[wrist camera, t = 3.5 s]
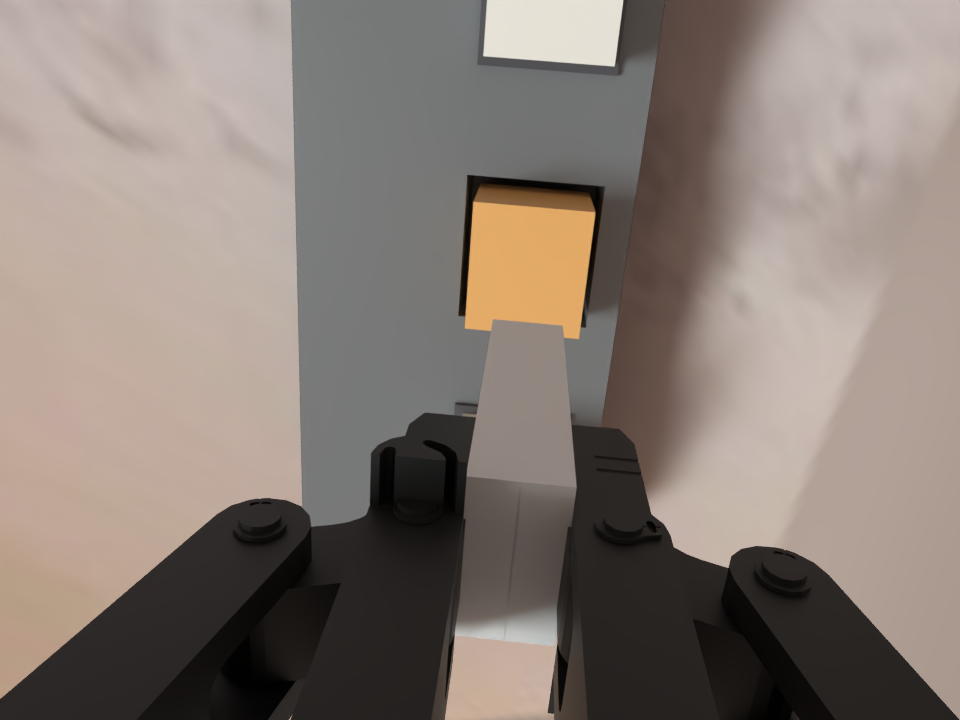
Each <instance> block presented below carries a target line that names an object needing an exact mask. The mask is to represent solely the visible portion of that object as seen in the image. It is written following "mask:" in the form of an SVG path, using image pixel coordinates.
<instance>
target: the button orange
mask: <svg viewBox="0 0 960 720" xmlns="http://www.w3.org/2000/svg"><path fill="white" fill-rule="evenodd" d="M595 213H596V212H595V209H594V206H593V203H592V200H591V197H590V194H589V192H580V191H568V190H556V189H545V188H533V187H521V186H509V185H498V184H486V183H481V184H480V187H479V189H478V192H477V194H476V197H475V199H474V201H473V214H472V229H471V244H470V258H469V273H468V288H467V302H466V317H465V329H475V330H486V331H491V328H492V322H493V319H496V320H507V321H518V322H529V323H540V324H551V325H561V326H563V334H564V338H572V339H579V334H580V327H581V319H582V312H583V304H584V296H585V289H586V281H587V273H588V266H589V258H590V251H591V243H592V235H593V228H594V220H595Z"/></svg>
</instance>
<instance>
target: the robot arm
mask: <svg viewBox="0 0 960 720" xmlns="http://www.w3.org/2000/svg"><path fill="white" fill-rule="evenodd" d="M556 632H557V638H558V644H557V651H556V658H555V665H554V672H553V679H552V686H551V693H550V700H549V708H548V713H552V714H554V720H959V719H958V718H957V717H956V715H955V714H954V713H953V712H952V711H951V710H950V709H949V708H948V707H947V706H946V704H945V703H944V702H943V701H942V700H941V699H940V698H939V697H938V696H937V694H936V693H935V692H934V691H933V690H932V689H931V688H930V687H929V686H928V684H927V683H926V682H925V681H924V680H923V679H922V678H921V677H920V676H919V674H918V673H917V672H916V671H915V670H914V669H913V668H912V667H911V666H910V665H909V663H908V662H907V661H906V660H905V659H904V658H903V657H902V656H901V655H900V653H898V651H897V650H896V649H895V648H894V647H893V646H892V645H891V643H890V642H889V641H888V640H887V639H886V638H885V637H884V636H883V635H882V634H881V633H880V631H879V630H878V629H877V628H876V627H875V626H874V625H873V624H872V622H871V621H870V620H869V619H868V618H867V617H866V616H865V615H864V614H863V613H862V612H861V610H860V609H859V608H858V607H857V606H856V605H855V604H854V603H853V601H852V600H851V599H850V598H849V597H848V596H847V595H846V594H845V593H844V591H843V590H842V589H841V588H840V587H839V586H838V585H837V584H836V583H835V582H834V580H833V579H832V578H831V577H830V576H829V575H828V574H827V573H826V572H824V571H823V570H822V569H821V568H819V567H818V566H817V565H816V564H815V563H813V562H811V561H809V560H807V559H805V558H804V557H802V556H799V555H798V554H796V553H793V552H790V551H788V550H786V551H785V550H783V549H780V548H775V547H761V546H755V547H750V548H744V549H741V550H739V551H738V552H737V553H735V554H734V555H733V556H731V560H730V565H729V568H726V567H722V566H719V565H716V564H713V563H709V562H706V561H703V560H700V559H697V558H695V557H692V556H689V555H687V554H685V553H683V552H681V551H680V550H678V549H676V548H674V547H673V543H672V540H671V536H670V534H669V532H668V530H667V529H666V527H665V525H664V524H663V523H662V522H660V521H659V520H658V519H656V518H655V517H654V516H653V515H651V512H650V507H649V503H648V499H647V495H646V491H645V487H644V483H643V479H642V476H641V470H640V466H639V463H638V458H637V454H636V450H635V446H634V443H633V442H632V441H631V440H630V439H629V438H628V437H627V436H626V435H625V434H624V433H623V432H622V431H621V430H620V429H611V428H601V427H591V426H581V425H571V416H570V404H569V392H568V381H567V369H566V358H565V346H564V334H563V326H561V325H551V324H540V323H529V322H518V321H507V320H496V319H493V322H492V328H491V334H490V340H489V345H488V351H487V357H486V363H485V369H484V374H483V380H482V386H481V392H480V398H479V403H478V409H477V415H476V417H467V416H457V415H447V414H436V413H426V412H425V413H423V414H422V415H421V416H419V417H418V418H417V419H415V420H414V421H413V422H411V423H410V424H409V426H408V429H407V432H406V435H405V436H401V437H396V438H391V439H389V440H387V441H385V442H383V443H381V444H379V445H377V447H376V448H375V449H374V450H373V451H372V453H371V471H370V506H369V509H368V511H367V514H366V515H365V516H363V517H361V518H359V519H356V520H353V521H350V522H346V523H340V524H334V525H324V526H314V527H311V521H310V515H309V514H308V513H307V512H306V511H305V510H304V509H303V508H302V507H301V506H299V505H296V504H294V503H291V502H289V501H286V500H279V499H271V498H262V499H253V500H248V501H245V502H241V503H238V504H235V505H232V506H230V507H228V508H227V509H225V510H223V511H222V512H220V513H218V514H217V515H216V516H215V517H213V518H212V519H211V520H210V521H209V522H207V523H206V524H205V525H204V526H203V527H202V528H200V529H199V530H198V531H197V532H196V533H195V534H193V535H192V536H191V537H190V538H189V539H188V540H186V541H185V542H184V543H183V544H182V545H181V546H179V547H178V548H177V549H176V550H175V551H173V552H172V553H171V554H170V555H169V556H168V557H166V558H165V559H164V560H163V561H162V562H161V563H159V564H158V565H157V566H156V567H155V568H154V569H152V570H151V571H150V572H149V573H148V574H147V575H145V576H144V577H143V578H142V579H141V580H139V581H138V582H137V583H136V584H135V585H134V586H132V587H131V588H130V589H129V590H128V591H127V592H125V593H124V594H123V595H122V596H121V597H120V598H118V599H117V600H116V601H115V602H114V603H113V604H111V605H110V606H109V607H108V608H107V609H105V610H104V611H103V612H102V613H101V614H100V615H98V616H97V617H96V618H95V619H94V620H93V621H91V622H90V623H89V624H88V625H87V626H86V627H84V628H83V629H82V630H81V631H80V632H79V633H77V634H76V635H75V636H74V637H73V638H71V639H70V640H69V641H68V642H67V643H66V644H64V645H63V646H62V647H61V648H60V649H59V650H57V651H56V652H55V653H54V654H53V655H52V656H50V657H49V658H48V659H47V660H46V661H45V662H43V663H42V664H41V665H40V666H39V667H37V668H36V669H35V670H34V671H33V672H32V673H30V674H29V675H28V676H27V677H26V678H25V679H23V680H22V681H21V682H20V683H19V684H18V685H16V686H15V687H14V688H13V689H12V690H11V691H9V692H8V693H7V694H6V695H5V696H3V697H2V698H1V699H0V720H289V719H290V717H291V716H292V717H291V720H445V713H446V705H447V698H448V691H449V684H450V677H451V669H452V662H453V649H454V636H455V635H457V636H466V637H475V638H484V639H494V640H503V641H512V642H521V643H530V644H540V645H549V646H555V639H556ZM292 714H293V715H292Z"/></svg>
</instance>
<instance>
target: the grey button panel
mask: <svg viewBox="0 0 960 720" xmlns="http://www.w3.org/2000/svg"><path fill="white" fill-rule="evenodd" d="M664 5H665V0H291V25H292V70H293V114H294V158H295V202H296V246H297V290H298V334H299V379H300V423H301V467H302V508H303V509H304V510H305V511H306V512H307V513H308V514H309V515H310V521H311V527H314V526H324V525H334V524H340V523H346V522H350V521H353V520H356V519H359V518H361V517H363V516H365V515H366V514H367V511H368V509H369V506H370V471H371V453H372V451H373V450H374V449H375V448H376V447H377V445H379V444H381V443H383V442H385V441H387V440H389V439H391V438H396V437H401V436H405V435H406V432H407V429H408V426H409V424H410V423H411V422H413V421H414V420H415V419H417V418H418V417H419V416H421V415H422V414H423V413H425V412H426V413H436V414H447V415H457V416H467V417H476V415H477V409H478V403H479V398H480V392H481V386H482V380H483V374H484V369H485V363H486V357H487V351H488V345H489V340H490V334H491V331H486V330H475V329H465V317H466V302H467V288H468V273H469V258H470V244H471V229H472V214H473V201H474V199H475V197H476V194H477V192H478V189H479V187H480V184H481V183H486V184H498V185H509V186H521V187H533V188H545V189H556V190H568V191H580V192H589V194H590V197H591V200H592V203H593V206H594V209H595V212H596V213H595V220H594V228H593V235H592V243H591V251H590V258H589V266H588V273H587V281H586V289H585V296H584V304H583V312H582V319H581V327H580V334H579V339H572V338H564V346H565V358H566V369H567V381H568V392H569V404H570V416H571V425H581V426H591V427H601V423H602V417H603V410H604V403H605V397H606V390H607V383H608V377H609V370H610V363H611V357H612V350H613V344H614V337H615V330H616V324H617V317H618V310H619V304H620V297H621V290H622V284H623V277H624V271H625V264H626V257H627V251H628V244H629V237H630V231H631V224H632V218H633V211H634V204H635V198H636V191H637V184H638V178H639V171H640V164H641V158H642V151H643V145H644V138H645V131H646V125H647V118H648V111H649V105H650V98H651V91H652V85H653V78H654V72H655V65H656V58H657V52H658V45H659V38H660V32H661V25H662V19H663V12H664Z"/></svg>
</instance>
